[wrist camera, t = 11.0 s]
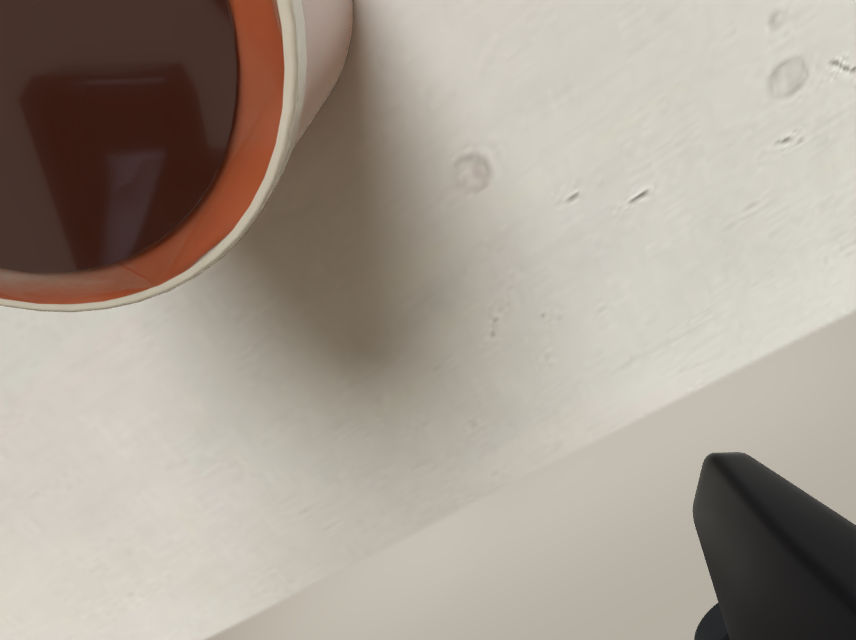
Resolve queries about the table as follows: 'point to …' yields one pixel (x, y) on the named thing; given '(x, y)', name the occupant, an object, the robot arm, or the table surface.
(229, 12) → the cup
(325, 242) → the table surface
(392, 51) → the table surface
